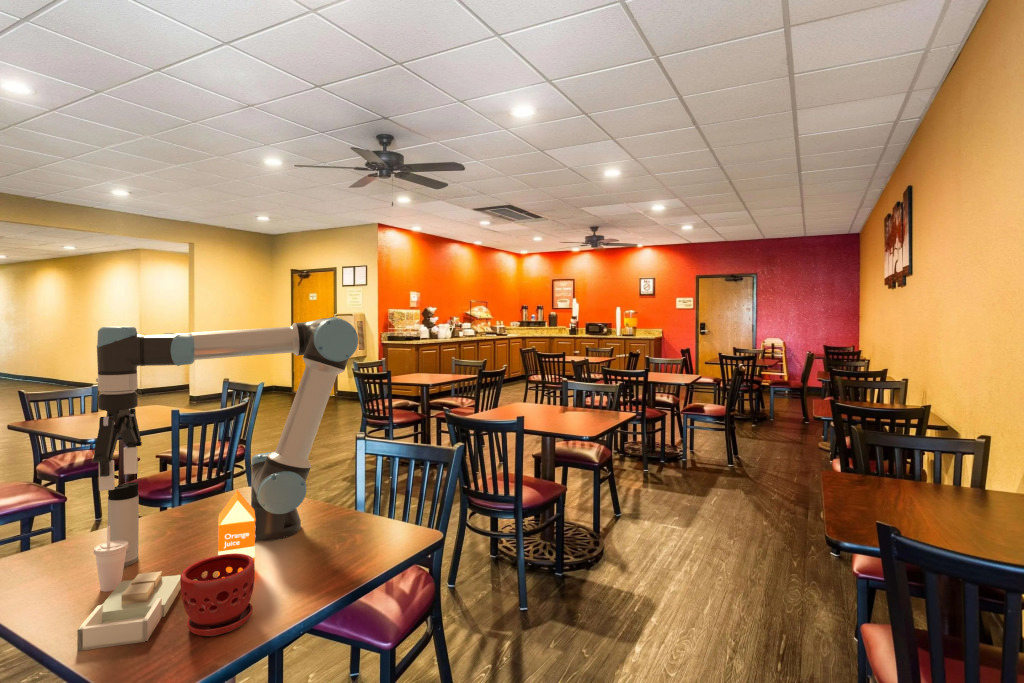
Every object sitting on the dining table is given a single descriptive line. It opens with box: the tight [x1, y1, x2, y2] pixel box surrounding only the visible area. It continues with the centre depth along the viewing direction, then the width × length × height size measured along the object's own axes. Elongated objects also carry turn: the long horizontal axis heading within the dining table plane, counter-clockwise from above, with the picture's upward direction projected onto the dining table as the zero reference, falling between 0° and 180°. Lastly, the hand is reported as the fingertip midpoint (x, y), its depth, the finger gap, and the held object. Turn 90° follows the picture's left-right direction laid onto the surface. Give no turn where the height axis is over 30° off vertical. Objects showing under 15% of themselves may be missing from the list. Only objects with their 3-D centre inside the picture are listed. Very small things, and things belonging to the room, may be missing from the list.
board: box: [101, 574, 181, 622], centre depth 116 cm, size 12×14×2 cm
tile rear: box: [131, 570, 163, 590], centre depth 118 cm, size 4×4×2 cm
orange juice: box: [217, 489, 256, 578], centre depth 128 cm, size 8×9×20 cm
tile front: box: [121, 582, 154, 605], centre depth 113 cm, size 4×4×2 cm
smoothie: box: [92, 525, 129, 593], centre depth 122 cm, size 6×6×14 cm
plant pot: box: [180, 553, 256, 637], centre depth 108 cm, size 13×13×12 cm
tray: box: [76, 598, 163, 652], centre depth 105 cm, size 11×9×4 cm
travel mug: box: [107, 482, 140, 568], centre depth 135 cm, size 6×7×20 cm
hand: (119, 481), depth 128 cm, fingers open, 13 cm apart
